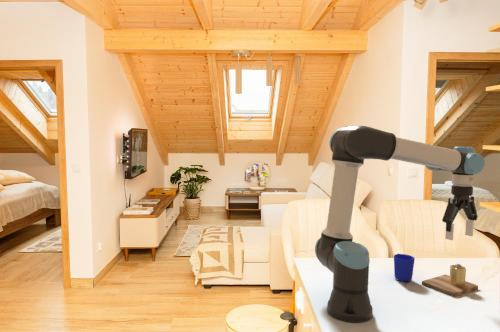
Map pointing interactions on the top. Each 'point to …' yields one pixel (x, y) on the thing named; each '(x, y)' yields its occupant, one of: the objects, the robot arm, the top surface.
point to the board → (448, 286)
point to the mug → (403, 267)
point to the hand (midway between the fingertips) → (459, 237)
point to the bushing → (457, 276)
